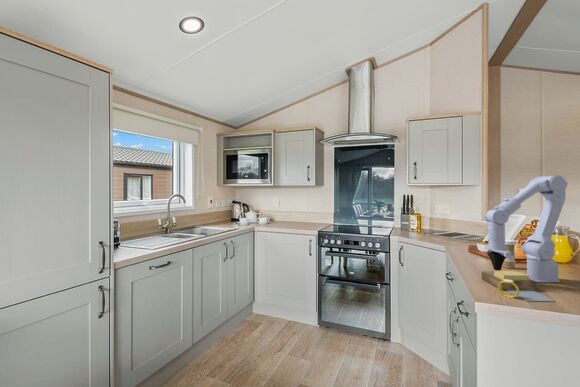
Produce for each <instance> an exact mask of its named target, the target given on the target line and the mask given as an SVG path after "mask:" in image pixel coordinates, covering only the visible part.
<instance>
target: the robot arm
mask: <svg viewBox="0 0 580 387" xmlns="http://www.w3.org/2000/svg"><path fill="white" fill-rule="evenodd" d="M567 187H568V182H567V181H566V179H565V177H564V176H562V175H560V174H559V175H558V174H557V175H544V176H542V175H538V176H536V177H534V178H533V179H532V180H530V181H529V183H528V184H526V186H525V187H523V189H522V190H520V191H519V192H518V193H517V194H516V195H515V196H513V197H508V198H504V199H503V200H502V201H503V202H501V203H500V204H498V205H497V206H494V208H493V209H490V210H488V211H487V212H486V214H485V215H484V217H483V218H484V220H485V221H486V222H487V230H488V232H487V233H488V234H487V237H488V241H487V242H488V244H484V247H483V248H484V251H489V252H487V253H486V255H487V256H488V257H489V260H490V262H491V265H492V268H493V270H494V271H502V268H503V266H504V260H505V259H506V257H511V252H509V251H508V250H506V249H505V240H506V225H505V224H506V223H507V222H509V218H510V217H511V215H513V214H514V213H516V212H517V211H518V210H519V209H520V208H521V206H522V203H524V202H525V201H527V200H528V199H530V198H531V197H533V196H534V195H536V194H537V193H539V194H540V195H541V196H543V197H544V198H545V203H544V206H543V208H542V210H541V214H540V216H539V219H538V222H537V225H536V228H535V230H534V232H533V234H532V235H530V236H528V237H527V239H526V241H525V242H524V243H523V244H522V247H521V250H522V252H523V253H524V254H525V257H526V274H527V275H529V279H531V280H533V281H535V283H561V281H560V280H559V264H558V263H557V261H556V260H555V259H553V258H554V256H555V253H556V252H555V247H556V243H555V242H554V241H553V239H552V237H553V234H554V231H555V229H556V226H557V222H558V220H559V218H560V216H561V212H562V209H563V206H564V204H565V201H566V189H567Z"/></svg>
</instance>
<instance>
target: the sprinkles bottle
mask: <svg viewBox="0 0 580 387" xmlns="http://www.w3.org/2000/svg"><path fill="white" fill-rule="evenodd" d="M515 245H516V242H515V240H513V239H505V249H506V250H508V251H509V252H511V257H506V259H505V260H504V262H503V265H502V268H505V269H509V270H515V268H516V266H515V265H516V264H515V263H516V261H515V260H516V258H515V257H516V255H515V254H516V253H515V252H516V251H515Z"/></svg>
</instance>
